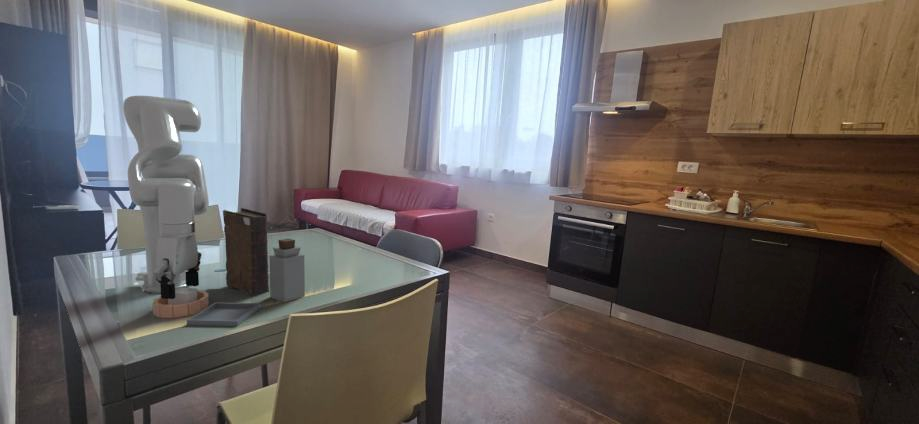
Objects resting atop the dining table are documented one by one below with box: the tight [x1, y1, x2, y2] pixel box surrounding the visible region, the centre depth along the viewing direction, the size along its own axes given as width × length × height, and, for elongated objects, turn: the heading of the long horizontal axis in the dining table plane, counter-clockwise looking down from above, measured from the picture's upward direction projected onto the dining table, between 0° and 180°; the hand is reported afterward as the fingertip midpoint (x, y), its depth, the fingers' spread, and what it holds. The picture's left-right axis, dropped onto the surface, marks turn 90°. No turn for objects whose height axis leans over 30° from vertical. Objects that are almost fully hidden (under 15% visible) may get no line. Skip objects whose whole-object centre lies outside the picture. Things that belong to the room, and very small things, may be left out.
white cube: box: [168, 287, 198, 305], centre depth 105 cm, size 5×4×5 cm
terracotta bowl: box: [152, 289, 210, 319], centre depth 105 cm, size 12×12×4 cm
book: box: [222, 207, 270, 295], centre depth 122 cm, size 17×7×25 cm, turn 50°
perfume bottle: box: [268, 238, 306, 303], centre depth 116 cm, size 7×7×18 cm
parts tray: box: [186, 301, 261, 327], centre depth 102 cm, size 12×12×2 cm
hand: (180, 291), depth 105 cm, fingers open, 9 cm apart
